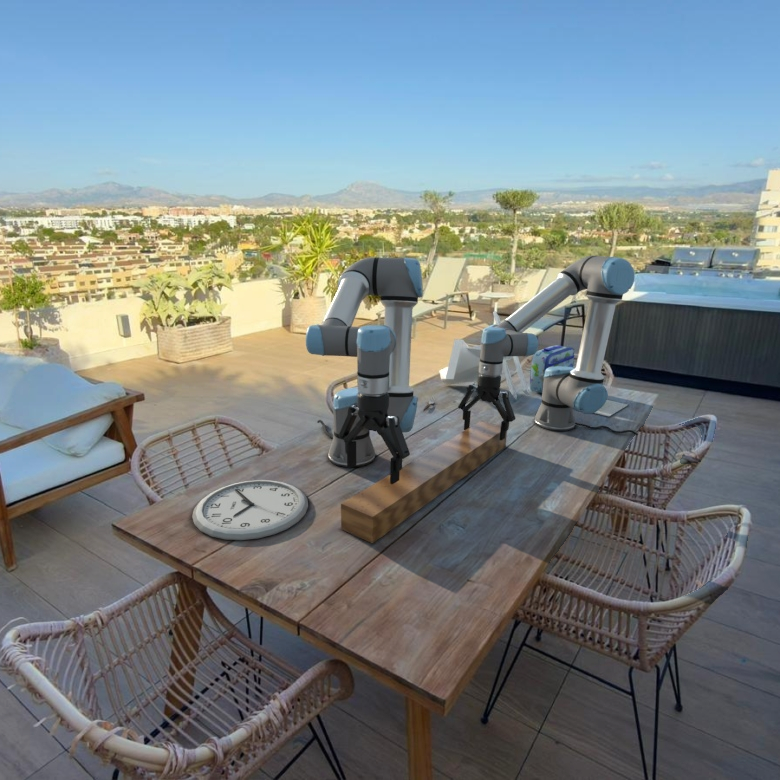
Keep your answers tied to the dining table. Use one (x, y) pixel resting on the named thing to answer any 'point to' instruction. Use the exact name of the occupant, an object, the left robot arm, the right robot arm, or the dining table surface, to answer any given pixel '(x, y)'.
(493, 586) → the dining table surface
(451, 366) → the white plastic object
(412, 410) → the left robot arm
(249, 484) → the wall clock
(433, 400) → the fork
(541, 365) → the lunch box
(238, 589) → the dining table surface
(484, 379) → the right robot arm
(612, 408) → the invitation card
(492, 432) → the wide beam
